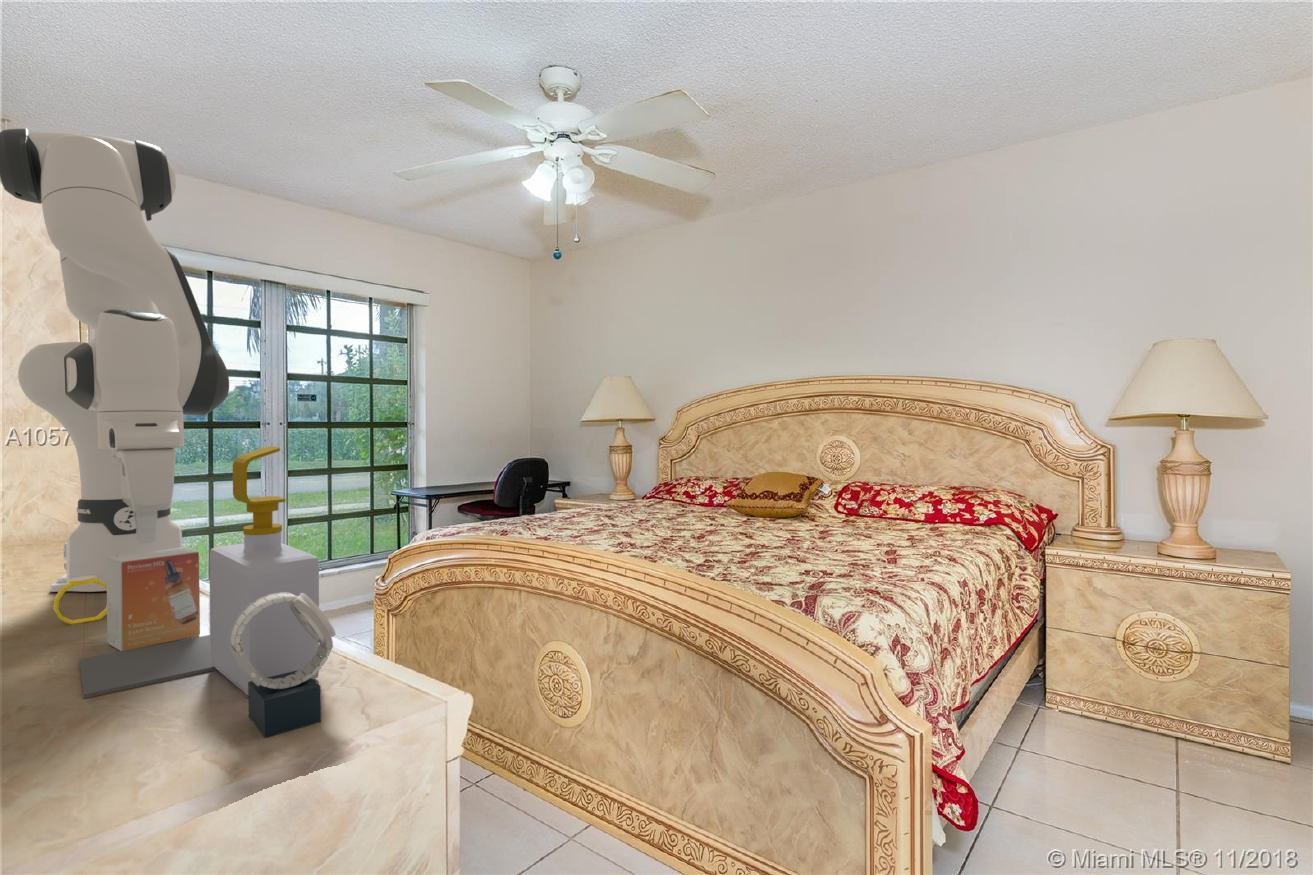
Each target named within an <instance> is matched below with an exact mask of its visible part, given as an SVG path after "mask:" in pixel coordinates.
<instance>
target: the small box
mask: <svg viewBox="0 0 1313 875" xmlns="http://www.w3.org/2000/svg"><path fill="white" fill-rule="evenodd" d="M106 580H107V591H106V606H107V614H106V622H107V623H106V628H107V629H106V632H107V633H106V634H107V635H106V638H107V640H106V641H107V643H108V645H110V646H111V647H114V648H115V649H116V650H118V651H119V652H120V651H125V650H131V649H136V648H142V647H147V646H153V645H158V644H163V643H169V642H174V641H180V640H185V639H191V638H196V637H200V634H201V607H200V606H201V605H200V602H201V600H200V594H201V593H200V591H201V590H200V553H199V551H198V550H197V551H196V550H194V549H190V548H187V547H180V548H174V549H168V550H161V551H153V552H146V553H138V554H131V555H123V556H110V557H107V558H106Z"/></svg>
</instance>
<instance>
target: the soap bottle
mask: <svg viewBox="0 0 1313 875" xmlns="http://www.w3.org/2000/svg"><path fill="white" fill-rule="evenodd" d="M280 451H281V448H280V447H279V446H278V447H277V446H273V445H270V446H264V447H262V448H261V447H260V448H258V449H255V450H252V451H249V452H248V451H247V452H246V453H243V454H240V455H239V456H237V457H236V458H235V459H234V460H233V463H232V495H233V498H234V499H235V500H237V501H238V502H241V503H243V504H246V512H247V513H252V524H249V525H245V526H243V527H242V533H243V535H244V537H243V539H244V541H243V542H244V543H238V544H237V543H236V544H228V545H220V546H215V547H213V548H210V551H209V556H208V557H209V635H210V660H211V662H212V665H213V666H214V667H215V668H216V669H217V671H218V672H220V673H221V675H223V676H224V677H226V679H228V680H229V681H230V682H232V684H234V685H235V686H236V687H237V688H239V689H240V690H241V691H242V692H243V694H245V695H246V696H248V682H250V681H252V680H251V679H250V678H249V677H248V676H247V675H246V674H245V673H244V672H243V671H242V669H241V668H240V667H239V666H238V664H237V663H236V661H235V659H234V657H233V655H232V653H231V651H230V648H229V646H231V643H230V639H231V638H230V634H231V631H232V627H233V625H234V623H235V621H236V619H237V618H238V616H239V615H240V614H241V612H242V611H243V610H245V608H246V607H247V606H249V605H250V604H251V603H253V602H255V601H256V600H257V599H259V598H261V597H264V596H267V595H269V594H274V593H277V594H278V593H281V592H288V593H291V594H293V595H295V596H297V597H298V596H299V594H300V593H304V594H306V595H307V596H308V597H309V598H310V599H311V600H312V601H313V602H314V603H315V604H316V605H317V606H318V607H319V608H320V596H319V595H320V566H319V565H320V563H319V558H318V557H317V556H316V555H314V554H311V553H308V552H306V551H303V550H302V549H298V548H296V547H293V546H290V545H287V544H286V543H282V531H283V525H282V524H280V523H273V512H276V511H279V503H284V502H285V503H286V499H287V498H285V497H281V496H278V495H277V496H276V495H269V496H257V497H248V480H247V479H248V467H249V464H250V463H251V462H252V461H253V462H254V460H258V459H260V458H264V457H266V456H270V455H272V454H276V453H278V452H280ZM252 616H253V615H252ZM240 636H241V638H240V639H241V640H242V641H243V647H244V650H245V652H246V654H247V657H248V659H249V661H250V663H251V664H252V666H253V667H254V668H255V669H256V670H260V671H261V672H262V673H263V678H267V677H272V676H276V675H280V674H284V673H288V672H293V671H297V670H300V669H302V668H305V665H306V664H307V663H308V662H309V661H310V660H313V659H312V658H313V656H314V655H315V653H316V651H319V650H318V647H319V644H320V643H318V642H317V641H316V640H315V639H314V638H313V637H312V636H311V635H310V634H309V633H308V632H307V630H306V629H305V628H304V627H303V626H302V624H301V623H300V622H299V621H298V619H297V618H296V616H295V615H294V613H293V612H292V610H291V608H290V601H285V600H284V601H283V602H279V603H273V604H272V605H270V606H268V607H266V608H262V610H261V611H260V612H258V613H257V614H256V615H254V616H253V617H252V618H251V620H250V621H249V622H248V623H247V624H245V628H244V630H243V632H242V634H241V635H240ZM313 666H314V665H313ZM314 667H315V666H314ZM319 672H320V670H319V671H318V672H317V673H316V674H315V675H312V677H311V678H312V679H313V680H314V681H315V679H317V678H319V674H320V673H319Z"/></svg>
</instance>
